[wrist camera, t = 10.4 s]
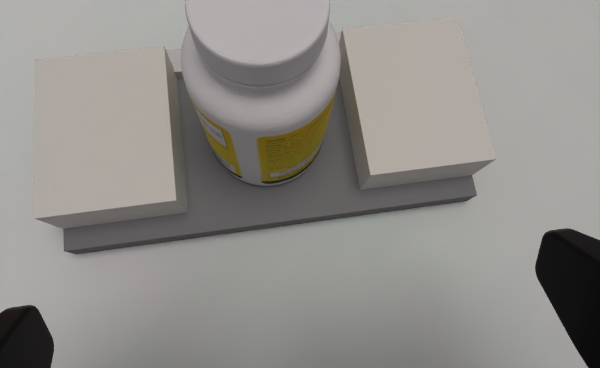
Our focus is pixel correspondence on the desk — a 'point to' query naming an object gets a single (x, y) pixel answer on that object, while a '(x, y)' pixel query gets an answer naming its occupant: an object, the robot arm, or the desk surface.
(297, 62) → the supplement bottle
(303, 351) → the desk surface
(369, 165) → the rail plate
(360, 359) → the desk surface
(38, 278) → the desk surface
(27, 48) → the desk surface
